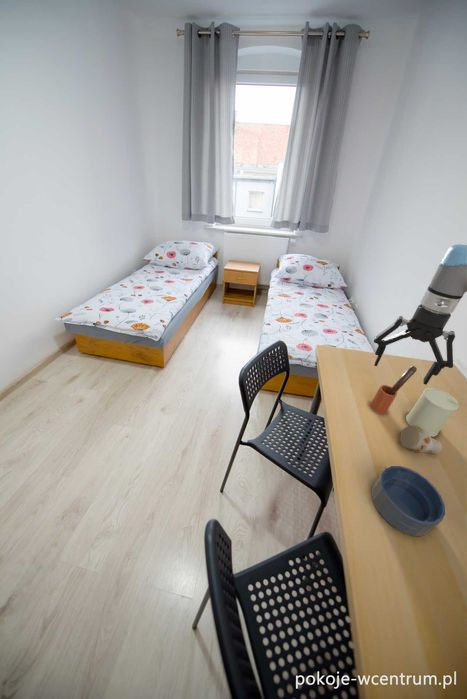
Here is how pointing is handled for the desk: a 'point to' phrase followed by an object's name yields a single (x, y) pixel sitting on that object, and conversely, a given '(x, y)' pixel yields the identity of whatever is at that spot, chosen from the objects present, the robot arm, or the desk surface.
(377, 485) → the bowl
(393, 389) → the stick
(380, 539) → the desk surface
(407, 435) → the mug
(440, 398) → the can
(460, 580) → the desk surface
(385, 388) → the holder
